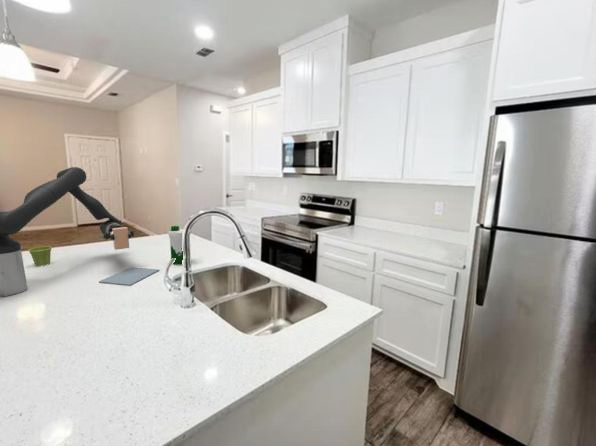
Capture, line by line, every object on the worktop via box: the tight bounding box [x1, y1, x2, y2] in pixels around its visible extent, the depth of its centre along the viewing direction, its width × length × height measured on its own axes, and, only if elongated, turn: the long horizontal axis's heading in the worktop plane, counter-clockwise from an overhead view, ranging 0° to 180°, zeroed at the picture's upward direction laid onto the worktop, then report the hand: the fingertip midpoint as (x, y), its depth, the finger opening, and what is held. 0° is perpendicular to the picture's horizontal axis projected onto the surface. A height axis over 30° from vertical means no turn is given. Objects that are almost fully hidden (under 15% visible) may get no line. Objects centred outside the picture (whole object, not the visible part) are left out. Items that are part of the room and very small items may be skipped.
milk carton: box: [167, 225, 184, 266], centre depth 161 cm, size 9×9×20 cm
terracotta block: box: [112, 226, 130, 251], centre depth 146 cm, size 4×6×10 cm, turn 130°
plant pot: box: [28, 245, 53, 267], centre depth 155 cm, size 9×9×9 cm
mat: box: [98, 266, 160, 287], centre depth 142 cm, size 20×16×1 cm
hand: (121, 237), depth 144 cm, fingers closed on terracotta block, 6 cm apart
